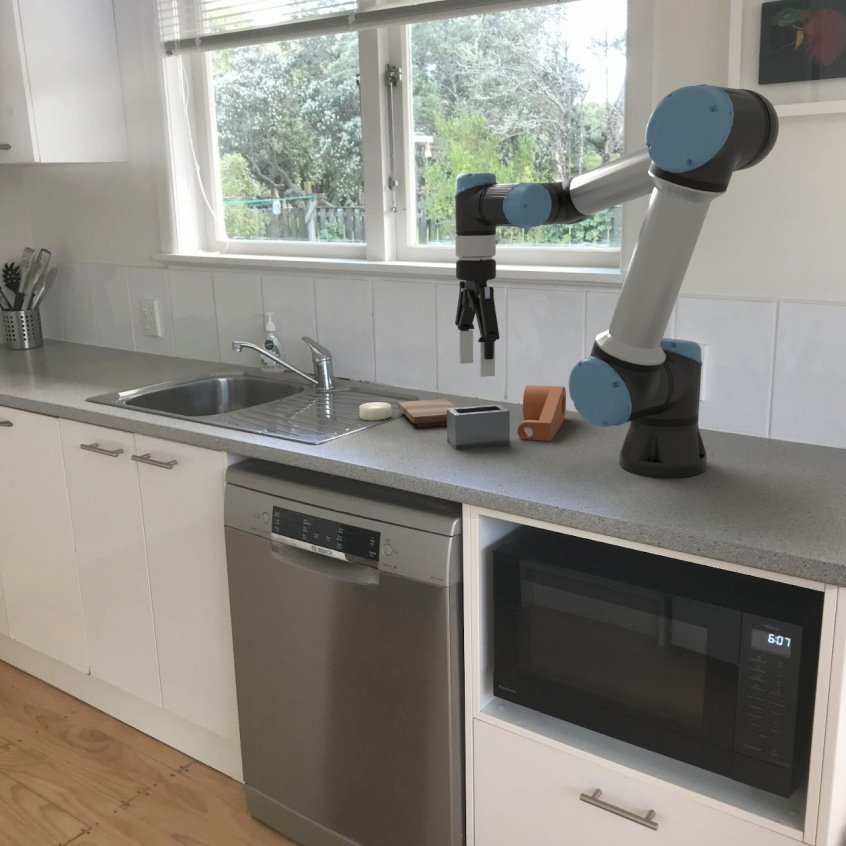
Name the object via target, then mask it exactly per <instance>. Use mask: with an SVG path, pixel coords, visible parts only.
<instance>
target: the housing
mask: <svg viewBox="0 0 846 846" xmlns="http://www.w3.org/2000/svg"><path fill="white" fill-rule="evenodd" d="M510 417H511V415H510V410H509V409H508V408H506V407H504V406H503V405H502V404H501V403H499V404H497V403H496V404H488V405H487V404H485V405H475V406H473V405H472V406H464V407H463V406H462V407H461V406H460V407H457V408H449V409H447V425H446V436H447V438H446V439H447V443H448V444H449V445H450V446H451V447H452V448H453V449H454V450H455V451H456V450H457V451H458V450H467V449H480V448H482V449H483V448H489V447H490V448H492V447H503V446H510V445H511V444H510V443H511V442H510V441H511V440H510V439H511V438H510V437H511V435H510V434H511V429H510V425H511V422H510V419H511V418H510Z"/></svg>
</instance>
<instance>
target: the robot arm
mask: <svg viewBox="0 0 846 846" xmlns="http://www.w3.org/2000/svg"><path fill="white" fill-rule="evenodd" d="M779 129H780V123H779V117H778V114H777V111H776V109H775V107H774V105H773V103H772V102H771V101H770V100H769V99H768V98H767V97H766V96H764V95H763V94H761V93H759V92H757V91H755V90H751V89H745V88H734V87H733V88H731V87H724V86H718V85H717V86H716V85H709V84H696V85H687V86H683V87H680V88H677V89H675V90H673V91H671V92H670V93H668V94H666V96H664V97H663V98H662V99H661V100H660V101H659V102H658V103H657V105H656V106H655V107H654V108H653V110H652V112H651V114H650V117H649V119H648V121H647V124H646V128H645V135H644V139H645V145H646V146H645V147H643V148H641V149H639V150H636V151H633V152H631V153H628V154H626V155H623V156H621V157H619V158H616V159H614V160H610V161H608V162H606V163H603V164H601V165H599V166H598V165H597V166H596V167H594V168H591V169H588V170H586V171H584V172H581V173H578V174H577V175H575V176H572V177H570V178H568V179H567V178H566V179H565V180H561V181H558V182H514V183H498V182H497V176H496V174H495V173H493V172H470V173H469V172H468V173H464V172H463V173H460V174H458V175H457V177H456V179H455V189H454V191H455V192H454V193H455V194H454V203H455V204H454V205H455V206H454V207H455V256H456V257H457V258H458V259H457V260H456V261H455V278H456V279H457V280H459V291H458V292H459V293H458V301H457V308H456V315H455V320H454V323H455V326H456V327H457V330H458V356H459V357H458V363H459V364H460V365H461V364H463V365H465V364H473V363H474V330H475V325H474V320H475V317H476V321H477V326H478V330H479V334H480V337H479V338H478V340H477V342H478V343H479V377H481V378H482V377H485V378H486V377H495V376H496V374H495V373H496V360H495V359H496V341H497V340H498V341H499V340H500V336H501V335H500V331H499V324H498V319H497V318H498V317H497V312H496V310H497V309H496V304H495V294H494V293H495V289H494V286H488V283H487V282H488V281H491V280H494V279H495V278H496V277H497V260H496V259H494V258H493V257H495V256H496V254H497V249H496V248H497V246H496V245H498V244H499V240H498V239H497V235H496V234H497V227H508V228H509V227H510V228H519V229H525V228H527V229H528V228H538V227H540V226H545V225H546V226H548V225H574V224H578V223H583V222H585V221H587V220H589V218H590V217H591V216H592V215H593V214H596V213H599V212H602V211H605V210H608V209H610V208H613V207H616V206H620V205H622V204H626V203H627V202H631V201H634V200H637V199H640V198H643V197H646V196H647V195H651V196H650V199H649V201H648V202H649V203H648V204H647V208H646V212H645V214H644V218H643V221H642V224H641V227H640V230H639V233H638V236H637V239H636V243H635V245H634V248H633V252H632V254H631V258H630V262H629V265H628V267H627V270H626V274H625V276H624V279H623V283H622V286H621V289H620V293H619V296H618V297H617V301H616V303H615V304H616V305H615V307H614V311H613V314H612V317H611V320H610V323H609V326H608V328H607V329H606V330H603V331H601V332H599V333H598V334H596V337H595V338H594V342H593V345H592V346H593V347H592V349H591V352H590V355H589V357H588V356H587V357H585V358H583V359H581V360H580V361H578V362H577V363H576V364H575V365H574V366H573V368H572V369H571V371H570V374H569V379H568V392H569V397H570V399H571V401H572V402H573V405H574V406H573V407H574V408H575V410H576V411H577V413H578V414H579V415H580V417H582V418H583V420H585V421H586V422H588V423H589V424H592V425H593V426H596V427H602V428H606V427H608V428H609V427H616V426H617V427H619V426H621V425H624V424H626V423H629V422H630V424H629V426H628V429H627V431H626V432H627V433H626V434H625V438H624V440H623V441H622V442H623V443H622V445H621V448H620V451H619V463H618V464H619V466H620V467H621V469H623V471H627V472H629V473H632V474H636V475H639V476H645V477H652V478H663V479H667V478H669V479H677V478H678V479H679V478H686V477H687V478H688V477H693V476H696V475H697V476H698V475H700V474H702V473H704V472H705V471H706V470H707V464H708V461H707V460H708V456H707V452H706V448H705V445H704V442H703V438H702V434H701V431H700V427H699V418H700V417H699V414H700V413H699V412H700V397H701V394H700V393H701V380H702V376H701V375H702V367H703V362H702V348H701V345H699V343H697V342H695V341H692V340H685V339H676V338H668V337H667V338H666V337H664V336H665V333H666V330H667V326H668V325H669V321H670V319H671V317H672V313H673V310H674V307H675V304H676V302H677V299H678V296H679V293H680V290H681V287H682V284H683V282H684V279H685V276H686V273H687V270H688V267H689V265H690V263H691V260H692V256H693V253H694V251H695V248H696V245H697V242H698V239H699V237H700V234H701V231H702V229H703V226H704V222H705V221H706V217H707V215H708V211H709V208H710V206H711V202H712V201H713V200H715V199H717V198H719V197H721V196H722V195H725V194H726V192H727V189H728V186H729V183H730V181H731V179H732V176H733V174H734V173H735V172H739V171H743V170H749V169H751V168H752V167H755V166H756V165H758V164H759V163H761V162H762V161H764V159H765V158H767V156H769V155H770V153H771V151H772V150H773V149H774V147H775V145H776V143H777V140H778V136H779V131H780V130H779Z"/></svg>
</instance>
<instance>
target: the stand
mask: <svg viewBox="0 0 846 846" xmlns="http://www.w3.org/2000/svg"><path fill="white" fill-rule="evenodd" d="M449 408H458V407H457V406H456V405H455V404H453V403H452V402H451V401H449V400H448V399H447V398H446V397H445V398H444V397H443V398H435V399H434V398H433V399H422V400H421V399H420V400H408V401H398V402H397V409H398V410H400V412H401V413H403V415H404V416H406V417H407V419H408V420H410V421H411V423H413V424H415V425H417V426H418V427H419V428H422V427H423V428H424V427H425V428H426V427H435V426H437V427H439V426H447V409H449Z"/></svg>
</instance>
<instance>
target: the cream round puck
mask: <svg viewBox="0 0 846 846" xmlns="http://www.w3.org/2000/svg"><path fill="white" fill-rule="evenodd" d="M358 408H359V418H360V419H361V420H365V421H366V420H367V421H381V420H380V419H384V420H387V419H386V418H388V419H390V418H392V405H391V404H390V403H389V402H382V401H381V402H380V401H376V402H374V401H373V402H366V403H362V404H360V405H359V407H358ZM389 417H390V418H389Z"/></svg>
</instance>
